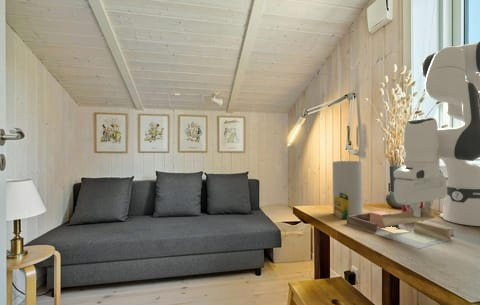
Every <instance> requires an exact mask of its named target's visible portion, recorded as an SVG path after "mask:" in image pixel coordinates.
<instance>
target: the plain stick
mask: <svg viewBox="0 0 480 305" xmlns="http://www.w3.org/2000/svg"><path fill="white" fill-rule="evenodd" d="M413 227H414V228H413V231H415V232H418V233H422V234H425V235H429V236H433V237H436V238H440V239H443V240H449V239H451V237H452V236H451V232H452V230H451V227H447V226H443V225H438V224H434V223H430V222H427V221H423V222H422V221H416V222H414V223H413ZM449 241H450V240H449Z"/></svg>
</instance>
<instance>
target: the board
mask: <svg viewBox="0 0 480 305" xmlns="http://www.w3.org/2000/svg"><path fill="white" fill-rule="evenodd" d="M368 222H370V221H368ZM346 225H347V226H350V227H353V228H356V229H359V230H361V231H364V232H365V231H366V232H368V233H371V234H375V235H378V236H380V237H384V238H386V239H390V240H392V241H395V242H399V243H401V244H405V245H408V246H410V247H414V248H416V249H423V248H426V247H431V246H434V245H435V246H436V245H437V244H440V243H441V244H442V243H445V242H448V241H452V240H456V239H457V238H456V237H452V236H451V239H449V240H443V239H440V238H436V237H433V236H429V235H425V234H422V233H418V232H415V231H414V230H413V231H414V232H407V233H398V234H391V233H389V232H386V231H384V230H382V229H380V228H378V227H377V232H376V233H374V232H371V231H368V230H365V229H362V228H359V227H356V226H353V225H350V224H347V223H346ZM402 227H407V228H411V229H414V226H411V225H407V224H399V228H402Z"/></svg>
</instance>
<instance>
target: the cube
mask: <svg viewBox="0 0 480 305" xmlns="http://www.w3.org/2000/svg"><path fill="white" fill-rule="evenodd" d="M388 215H392V214H391V213H389V212H386V211H382V210H376V211H370V222H372V223H375V224H377V227H379V228H385V225H384V223H383V220H382V217H383V216H388ZM388 227H391V226H388Z"/></svg>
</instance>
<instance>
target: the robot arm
mask: <svg viewBox="0 0 480 305" xmlns="http://www.w3.org/2000/svg"><path fill="white" fill-rule="evenodd" d="M421 73H422V75H423V77H424V78H425V81H424V89H425V93H426V94H427V96H429V97H430V98H431V99H433V100H435V101H438V102H441V103H446V114H448V116H449V117H451V118H453V119H456V120H459V121H462V122H463V124H462V125H461V126H457V127H447V128H445V127H444V128H438V123H437V122H438V121H437V119H436V117H435V118H434V117H418V118H413V119H410V120H408V121H406V124H405V127H404V135H403V149H404V151H405V156H404V160H403V162H404V163H403V164H402V165H401V166H400V167H398V168H397V169H395V170H394V171H393V172H392V173H393V178H395V179H394V182H393V197H394V201H395V202H396V204H400V205H402V204H403V205H410V204H411V207H412V209H413V211H414V216H416V217H421V216H423V214H422V213H423V211H421V210H420V207H419V206H421V202H423V208H424V207H429V206H430V207H431V209H432V207H433V204H434V201H436V200H440V199H441V200H442V199H443V203H442V205H443V207H442V213H439V217H440V218H443V220H445V221H447V222H451V223H454V224H459V225H465V226H472V227H473V226H474V227H476V226H477V227H480V166H479V165H477V164H475V163H473V161H475V160H478V159H479V158H480V41H479V42H474V43H468V44H463V45H458V46H447V47H444V48H442V49H440V50H439V51H437V52H433V53H431V54H429V55H427V56H426V57H425V58H424V59H423V61H422V64H421ZM440 160H442V162H443V163H444V165H445V168H446V173H447V180H446V177H445V175H444V173H443V172H442V170H441V169H440ZM470 161H471V162H470Z"/></svg>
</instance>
